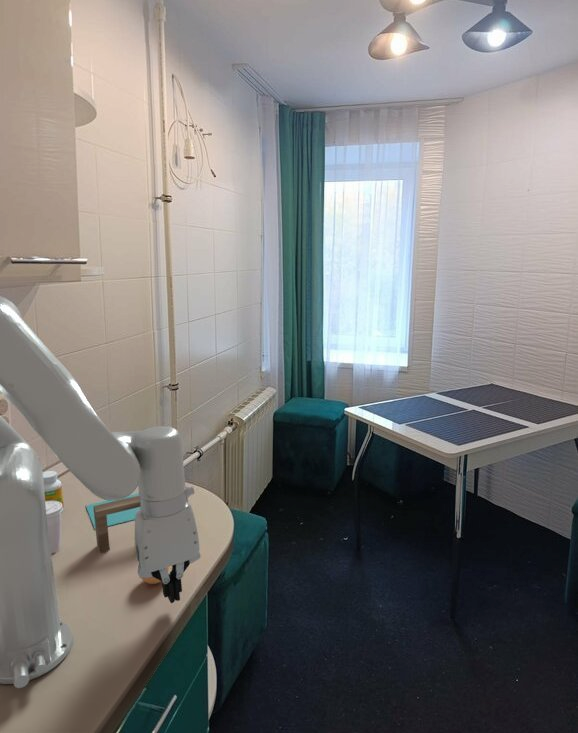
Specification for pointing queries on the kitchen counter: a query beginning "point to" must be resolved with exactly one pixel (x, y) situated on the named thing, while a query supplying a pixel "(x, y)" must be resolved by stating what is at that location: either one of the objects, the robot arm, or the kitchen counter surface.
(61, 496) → the supplement bottle
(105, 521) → the bridge
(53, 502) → the smoothie
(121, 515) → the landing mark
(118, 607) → the kitchen counter surface
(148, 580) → the ball
